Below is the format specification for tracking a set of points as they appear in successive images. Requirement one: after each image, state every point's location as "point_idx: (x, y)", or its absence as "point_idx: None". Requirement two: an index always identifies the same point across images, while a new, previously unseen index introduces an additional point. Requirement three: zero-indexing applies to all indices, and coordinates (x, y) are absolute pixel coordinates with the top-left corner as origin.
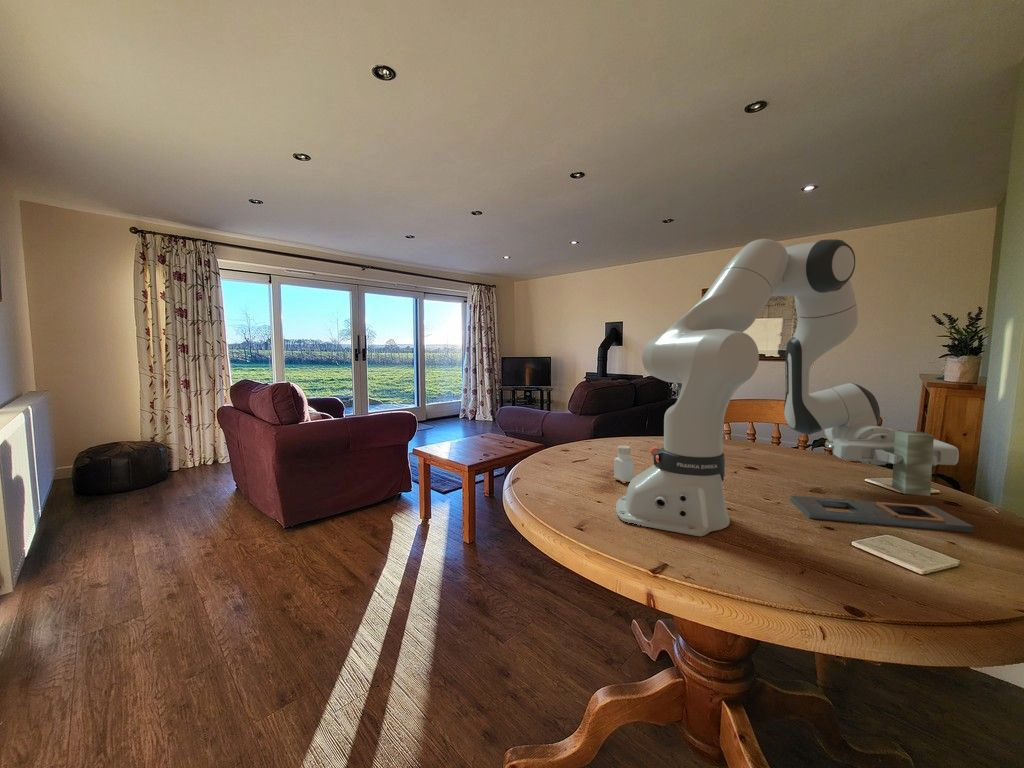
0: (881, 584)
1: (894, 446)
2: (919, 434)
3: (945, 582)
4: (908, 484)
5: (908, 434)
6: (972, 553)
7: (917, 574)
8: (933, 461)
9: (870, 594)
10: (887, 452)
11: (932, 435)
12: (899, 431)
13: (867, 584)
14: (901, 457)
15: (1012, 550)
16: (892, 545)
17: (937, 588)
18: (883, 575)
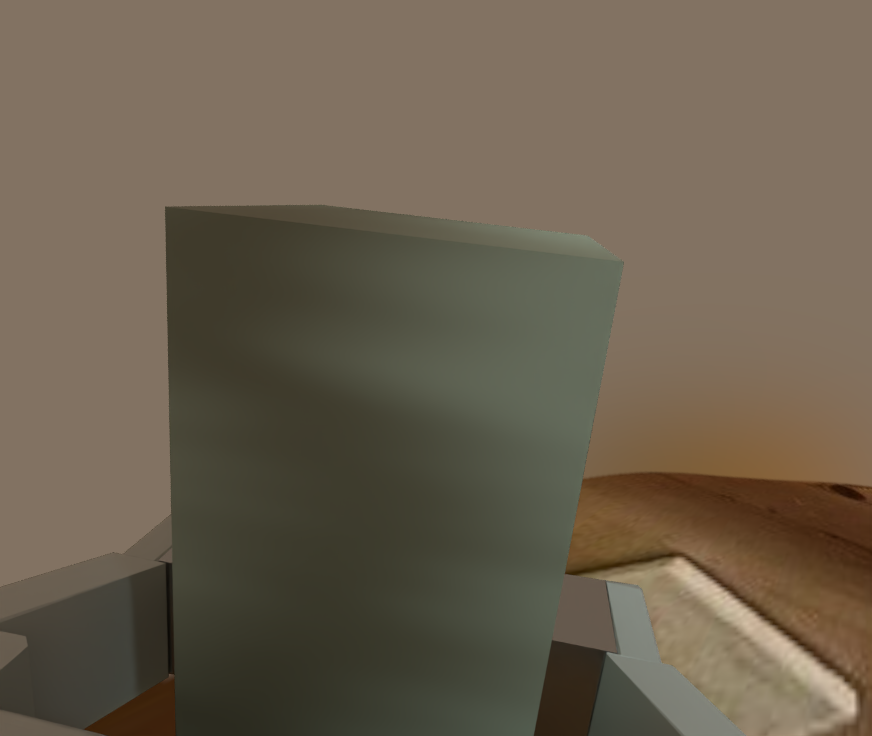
0: (787, 534)
1: (555, 603)
2: (431, 219)
3: (639, 533)
4: None
5: (568, 235)
6: None
7: (689, 556)
8: None
9: (815, 516)
10: (667, 691)
11: (332, 206)
12: (573, 248)
13: (818, 535)
14: None
15: None
16: (695, 684)
17: (671, 521)
18: (775, 556)
